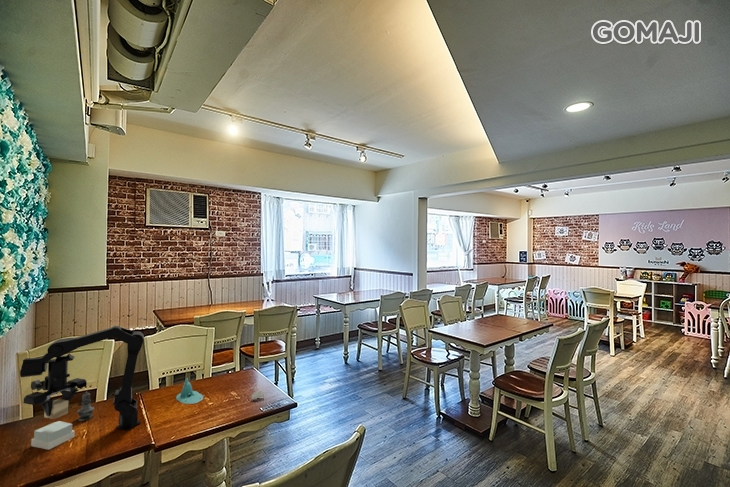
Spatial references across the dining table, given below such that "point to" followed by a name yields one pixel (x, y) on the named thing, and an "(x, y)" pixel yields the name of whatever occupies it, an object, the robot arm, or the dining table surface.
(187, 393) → the teal witch hat
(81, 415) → the grey stone pagoda
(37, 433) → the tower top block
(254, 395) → the car cutout
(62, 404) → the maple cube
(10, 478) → the dining table surface
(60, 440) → the tower base block
